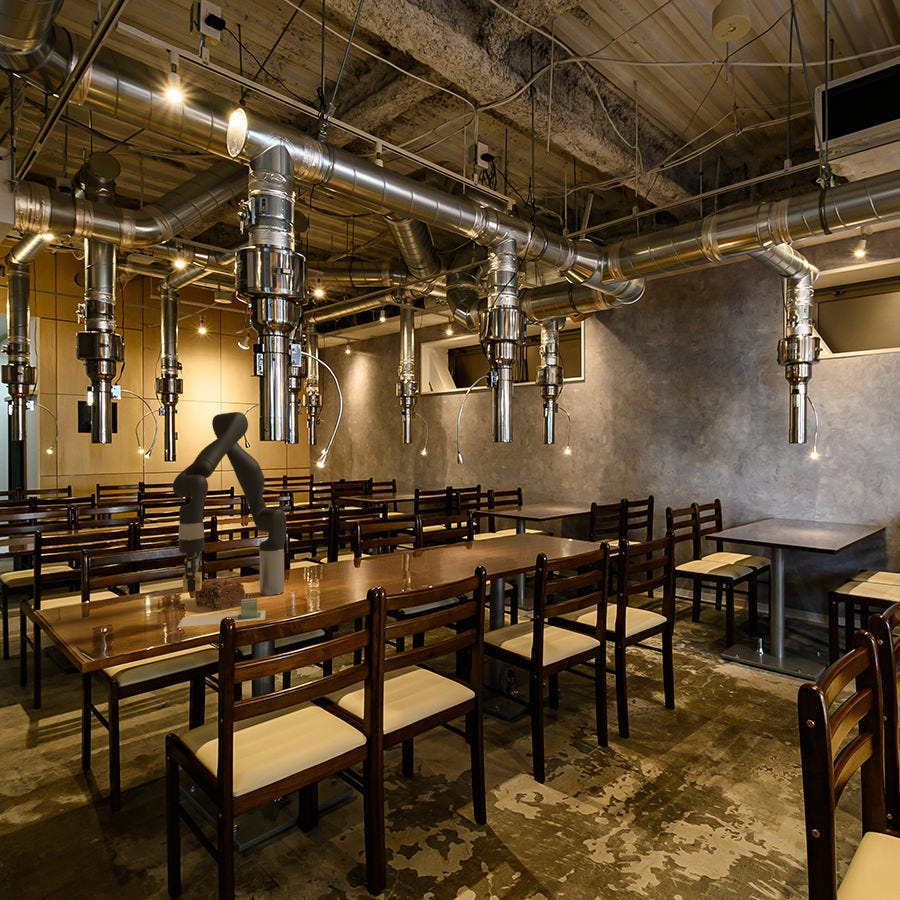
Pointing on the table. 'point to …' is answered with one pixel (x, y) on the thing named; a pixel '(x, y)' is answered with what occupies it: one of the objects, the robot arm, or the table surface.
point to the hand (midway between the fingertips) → (192, 589)
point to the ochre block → (197, 582)
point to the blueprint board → (217, 619)
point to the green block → (249, 608)
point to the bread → (220, 594)
